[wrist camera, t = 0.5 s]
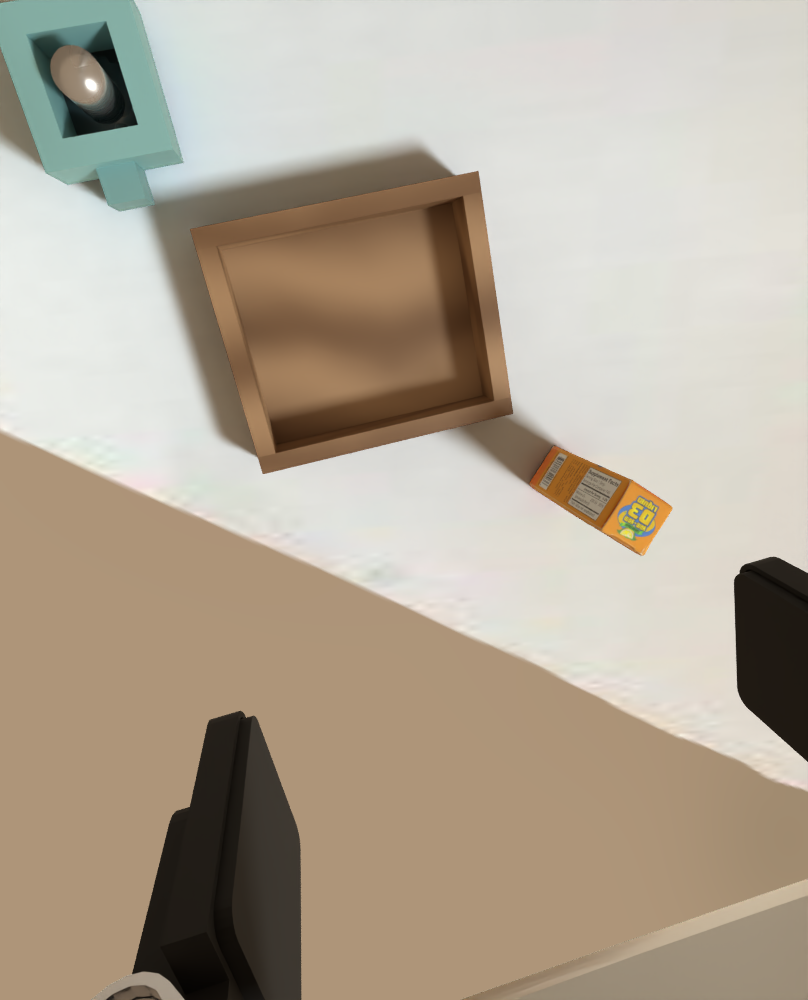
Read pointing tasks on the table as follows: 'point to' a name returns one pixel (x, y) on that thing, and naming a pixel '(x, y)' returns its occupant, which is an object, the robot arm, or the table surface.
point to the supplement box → (602, 499)
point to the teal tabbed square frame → (65, 156)
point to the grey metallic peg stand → (92, 89)
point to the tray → (359, 319)
